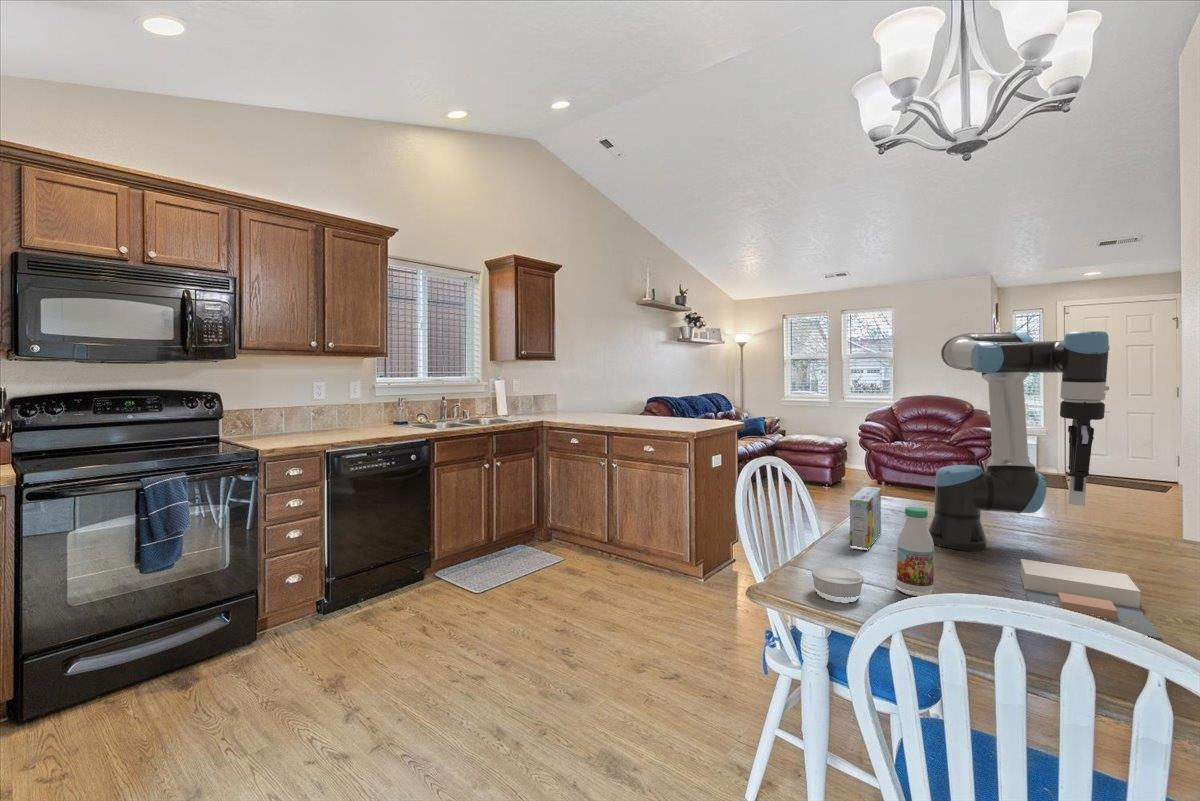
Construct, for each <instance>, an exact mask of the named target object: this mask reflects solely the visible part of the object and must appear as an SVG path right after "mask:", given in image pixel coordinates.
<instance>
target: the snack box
mask: <svg viewBox="0 0 1200 801" xmlns="http://www.w3.org/2000/svg"><path fill="white" fill-rule="evenodd" d="M881 496H882V488H881V487H877V486H875V487H874V486H867V485H866V486H863V487H862V488H860V490H858V491H857V493H855V494H854V495H853V496H852V497H851V498H850V499H849V546H850V545H851V546H857V547H862V548H867V549H868V548H869V547H870V546H871V545H872V543H873V542H874V541H875V539H876V538H877V537H878V536H879V534H880V533H881V534H882V507H881V506H882V505H881V504H882V503H881V502H882V499H881ZM881 534H880V535H881ZM879 537H880V536H879ZM879 537H878V538H879ZM878 538H877V539H878ZM875 542H876V541H875ZM875 542H874V543H875ZM872 546H873V545H872Z"/></svg>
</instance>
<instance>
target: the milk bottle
mask: <svg viewBox="0 0 1200 801" xmlns="http://www.w3.org/2000/svg"><path fill="white" fill-rule="evenodd" d="M928 513H929V512H928V509H927V508H924V507H920V506H907V507H905V509H904V515H905V516H904V517H905V522H904V525H903V527H902V529H901V531H900V532H899V535H898V538H897V544H896V545H897V546H896V559H895V560H896V561H895V562H896V563H895V564H896V567H895V568H896V570H895V586H896V585H897V586H898V587H900V588H902V589H905V590H909V591H915V592H926V591H930V590H932V589H933V590H934V579H935V578H934V577H935V575H934V574H935V546H934V545H935V544H934V543H933V540H932V537H931V535H930V533H929V527H928V525H927V520H928Z"/></svg>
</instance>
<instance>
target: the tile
mask: <svg viewBox="0 0 1200 801" xmlns="http://www.w3.org/2000/svg"><path fill="white" fill-rule="evenodd" d="M1057 601H1058V603H1059V606H1060V608H1063V609H1067V610H1070V611H1074V612H1078V613H1082V614H1086V615H1090V616H1095V617H1097V616H1100V617H1101V618H1106V619H1112V620H1117V614H1118V611H1117V609H1116V608H1115V606H1114V605H1113V603H1112V601H1109V600H1103V599H1097V598H1091V597H1085V596H1079V595H1073V594H1067V593H1061V592H1058V598H1057ZM1092 614H1094V615H1092Z"/></svg>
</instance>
